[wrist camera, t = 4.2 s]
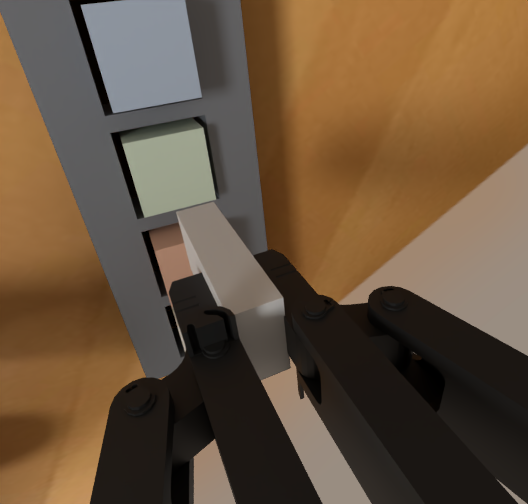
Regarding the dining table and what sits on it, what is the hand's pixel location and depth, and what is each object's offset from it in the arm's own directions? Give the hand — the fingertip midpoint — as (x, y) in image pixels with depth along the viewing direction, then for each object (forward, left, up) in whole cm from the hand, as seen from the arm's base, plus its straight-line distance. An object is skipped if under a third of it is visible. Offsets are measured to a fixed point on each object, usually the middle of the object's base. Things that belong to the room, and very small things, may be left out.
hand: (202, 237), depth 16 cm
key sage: (0, +1, -10) cm, 10 cm away
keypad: (0, -2, -10) cm, 10 cm away
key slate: (0, +6, -9) cm, 11 cm away
